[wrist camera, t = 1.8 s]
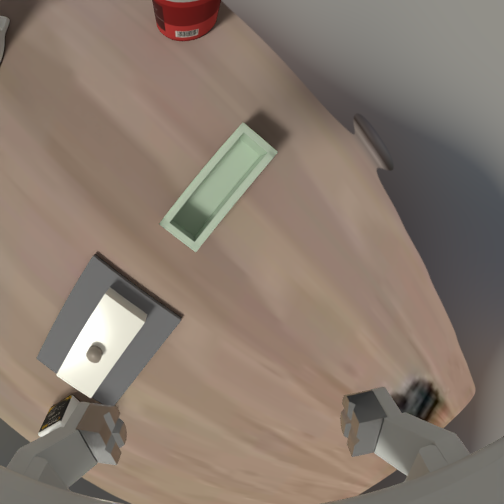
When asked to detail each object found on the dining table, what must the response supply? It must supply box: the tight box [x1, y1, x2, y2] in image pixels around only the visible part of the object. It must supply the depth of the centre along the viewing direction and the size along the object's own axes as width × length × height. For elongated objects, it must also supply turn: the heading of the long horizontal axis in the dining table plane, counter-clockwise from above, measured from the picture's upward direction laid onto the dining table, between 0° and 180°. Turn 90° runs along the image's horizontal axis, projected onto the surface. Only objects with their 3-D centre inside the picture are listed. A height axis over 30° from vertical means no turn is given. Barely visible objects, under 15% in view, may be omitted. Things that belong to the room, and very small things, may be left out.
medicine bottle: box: [38, 395, 80, 437], centre depth 34 cm, size 7×7×12 cm
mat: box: [37, 255, 181, 406], centre depth 38 cm, size 14×20×1 cm
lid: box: [57, 287, 147, 398], centre depth 36 cm, size 6×16×4 cm, turn 140°
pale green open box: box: [159, 123, 278, 252], centre depth 35 cm, size 5×14×5 cm, turn 140°
